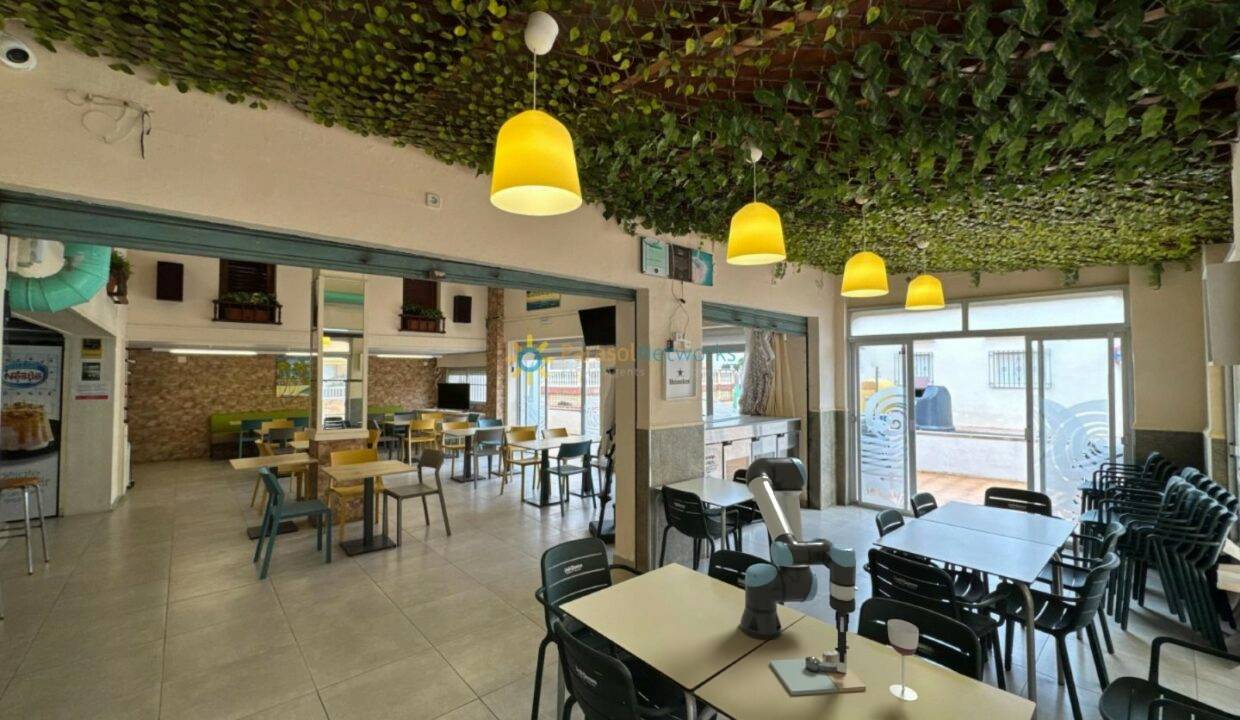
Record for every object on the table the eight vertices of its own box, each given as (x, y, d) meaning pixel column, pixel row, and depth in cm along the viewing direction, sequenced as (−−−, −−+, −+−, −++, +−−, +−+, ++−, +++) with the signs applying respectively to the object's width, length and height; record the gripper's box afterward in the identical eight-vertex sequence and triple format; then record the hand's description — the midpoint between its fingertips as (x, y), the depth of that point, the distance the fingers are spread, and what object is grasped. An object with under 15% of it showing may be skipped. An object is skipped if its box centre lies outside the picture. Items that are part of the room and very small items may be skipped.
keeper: (822, 661, 164) (822, 652, 164) (836, 660, 164) (836, 651, 165) (825, 665, 162) (825, 655, 162) (840, 664, 162) (840, 654, 163)
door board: (769, 664, 164) (769, 660, 164) (837, 660, 167) (837, 656, 167) (791, 695, 148) (791, 691, 148) (865, 690, 151) (865, 686, 151)
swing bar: (807, 672, 158) (807, 659, 158) (804, 664, 162) (804, 651, 162) (848, 675, 156) (848, 662, 156) (844, 667, 160) (844, 655, 160)
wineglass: (904, 703, 145) (904, 635, 146) (881, 685, 153) (881, 621, 154) (925, 699, 147) (925, 631, 148) (902, 681, 156) (901, 617, 156)
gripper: (855, 607, 147) (855, 686, 147) (855, 589, 159) (854, 662, 159) (828, 601, 151) (828, 679, 150) (830, 584, 162) (829, 656, 162)
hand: (841, 670), depth 155 cm, fingers closed
